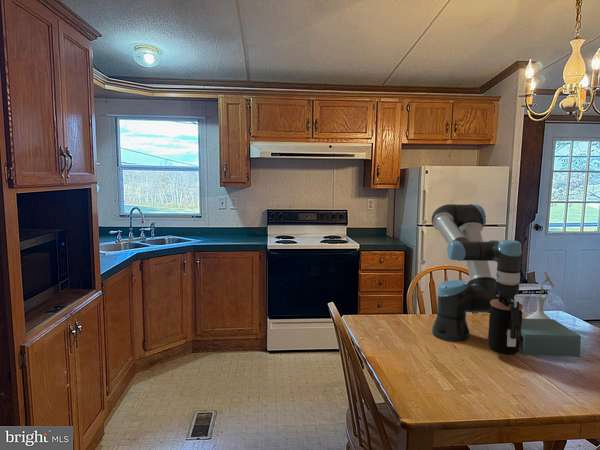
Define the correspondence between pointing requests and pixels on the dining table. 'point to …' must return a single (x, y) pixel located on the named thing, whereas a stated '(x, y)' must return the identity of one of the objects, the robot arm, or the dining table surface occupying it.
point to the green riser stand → (549, 338)
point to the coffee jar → (502, 328)
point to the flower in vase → (540, 303)
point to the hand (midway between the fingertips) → (504, 339)
